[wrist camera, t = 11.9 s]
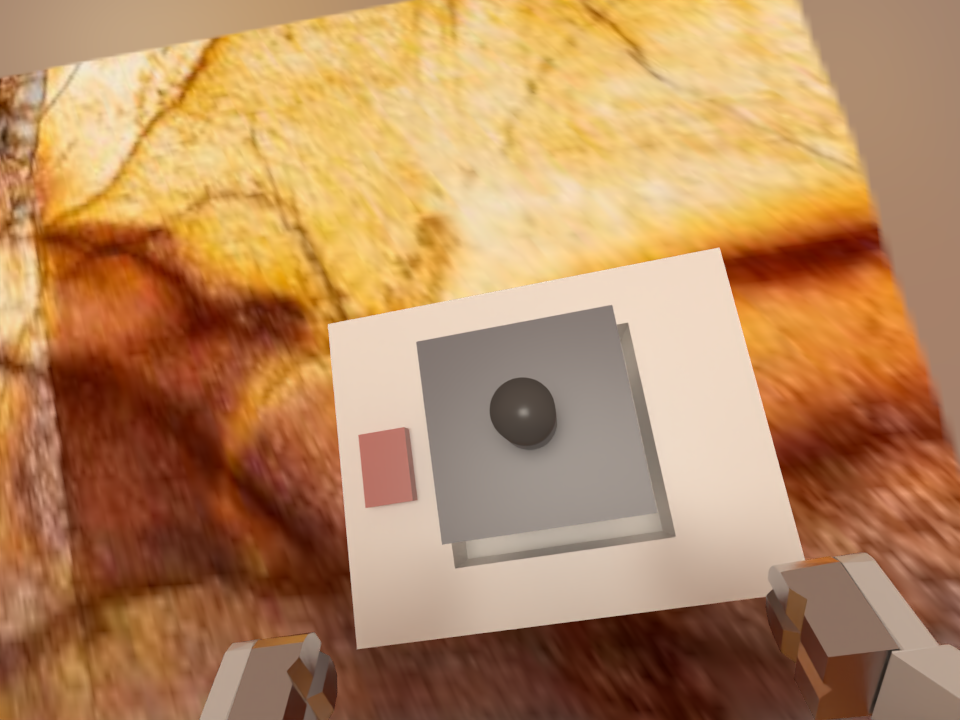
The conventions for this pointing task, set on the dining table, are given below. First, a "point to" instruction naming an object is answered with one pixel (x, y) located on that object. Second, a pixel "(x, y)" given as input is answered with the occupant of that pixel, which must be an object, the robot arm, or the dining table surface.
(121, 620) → the dining table surface
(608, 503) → the plug
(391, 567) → the socket
